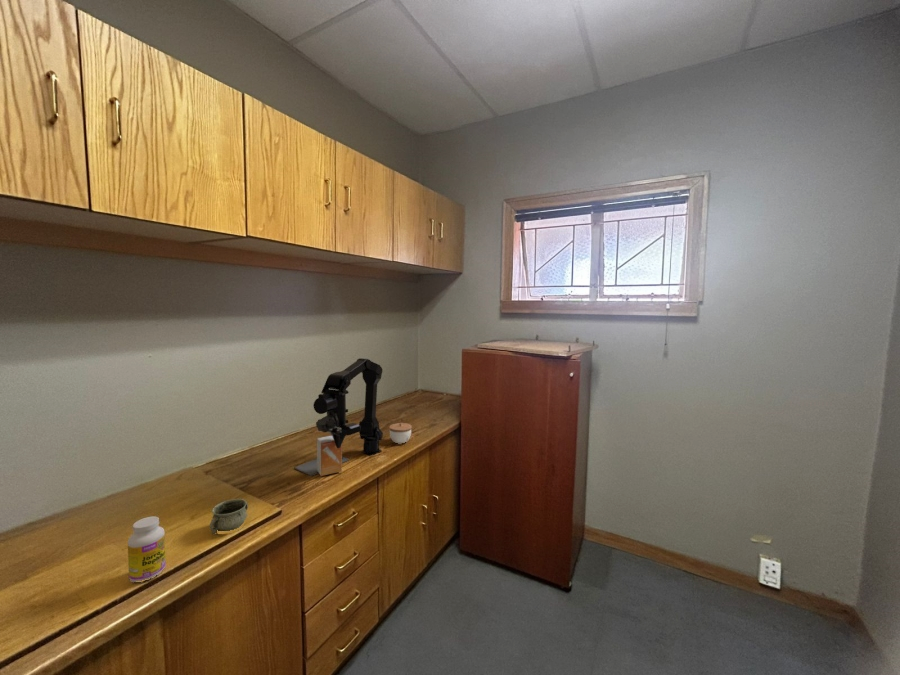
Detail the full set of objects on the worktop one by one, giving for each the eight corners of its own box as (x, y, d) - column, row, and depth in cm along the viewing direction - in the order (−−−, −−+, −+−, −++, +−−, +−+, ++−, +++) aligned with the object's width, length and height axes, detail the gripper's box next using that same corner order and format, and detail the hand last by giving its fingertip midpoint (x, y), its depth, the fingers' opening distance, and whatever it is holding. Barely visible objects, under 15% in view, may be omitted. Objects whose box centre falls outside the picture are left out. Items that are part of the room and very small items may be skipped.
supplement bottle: (140, 588, 80) (137, 533, 79) (122, 579, 83) (119, 526, 82) (172, 568, 86) (170, 517, 85) (155, 561, 89) (153, 511, 88)
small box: (320, 476, 134) (320, 442, 133) (316, 470, 139) (316, 437, 138) (342, 471, 138) (342, 439, 138) (337, 465, 144) (337, 434, 143)
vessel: (222, 542, 96) (221, 520, 96) (198, 536, 99) (197, 514, 99) (259, 518, 108) (258, 498, 107) (236, 513, 110) (236, 493, 110)
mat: (332, 454, 157) (332, 452, 157) (348, 460, 150) (348, 458, 150) (294, 468, 142) (294, 467, 142) (311, 476, 136) (311, 474, 136)
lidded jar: (402, 447, 165) (402, 428, 165) (384, 443, 171) (384, 423, 170) (415, 440, 175) (416, 422, 174) (399, 436, 180) (399, 418, 180)
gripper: (303, 408, 133) (304, 449, 133) (336, 415, 123) (337, 460, 123) (328, 402, 142) (329, 441, 143) (361, 409, 132) (361, 450, 133)
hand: (338, 448), depth 135 cm, fingers closed
